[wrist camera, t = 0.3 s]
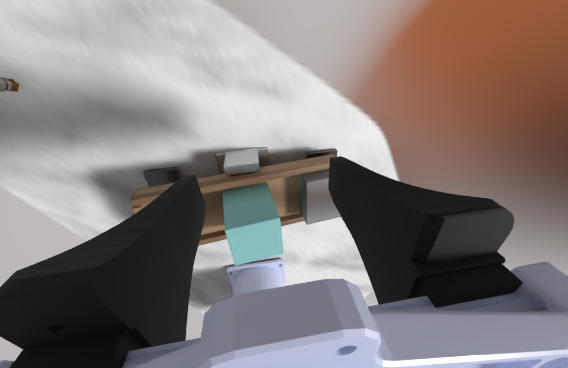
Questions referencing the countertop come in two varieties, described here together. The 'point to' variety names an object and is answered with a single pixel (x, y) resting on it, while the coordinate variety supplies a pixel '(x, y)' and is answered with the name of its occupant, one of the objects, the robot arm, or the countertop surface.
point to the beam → (282, 184)
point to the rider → (252, 223)
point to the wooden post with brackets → (8, 85)
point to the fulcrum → (227, 164)
